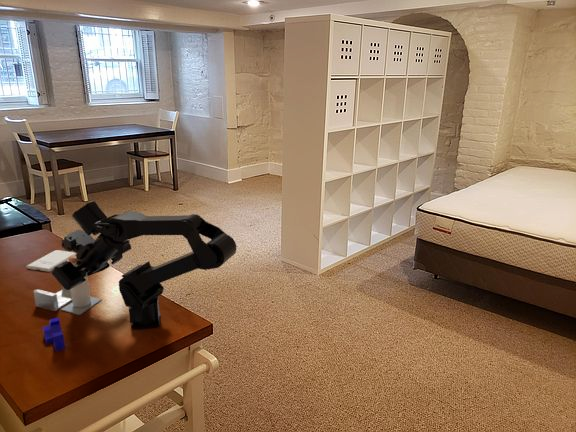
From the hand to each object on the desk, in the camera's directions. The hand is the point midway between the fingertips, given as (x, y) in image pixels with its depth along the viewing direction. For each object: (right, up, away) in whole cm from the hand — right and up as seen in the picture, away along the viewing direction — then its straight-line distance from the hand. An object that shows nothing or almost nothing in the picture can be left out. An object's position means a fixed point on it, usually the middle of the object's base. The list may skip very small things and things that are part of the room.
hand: (74, 280), depth 113 cm
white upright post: (+1, -6, +2) cm, 7 cm away
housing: (-6, -6, +4) cm, 9 cm away
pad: (+1, -7, +2) cm, 7 cm away
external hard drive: (-20, +1, +26) cm, 33 cm away
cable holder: (+2, -13, -13) cm, 18 cm away
